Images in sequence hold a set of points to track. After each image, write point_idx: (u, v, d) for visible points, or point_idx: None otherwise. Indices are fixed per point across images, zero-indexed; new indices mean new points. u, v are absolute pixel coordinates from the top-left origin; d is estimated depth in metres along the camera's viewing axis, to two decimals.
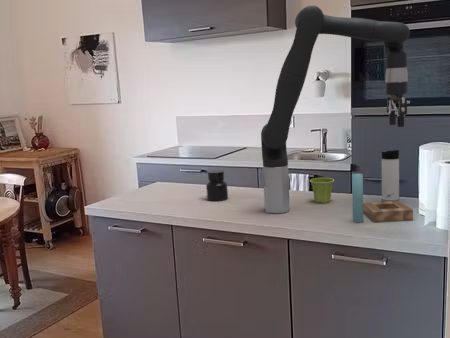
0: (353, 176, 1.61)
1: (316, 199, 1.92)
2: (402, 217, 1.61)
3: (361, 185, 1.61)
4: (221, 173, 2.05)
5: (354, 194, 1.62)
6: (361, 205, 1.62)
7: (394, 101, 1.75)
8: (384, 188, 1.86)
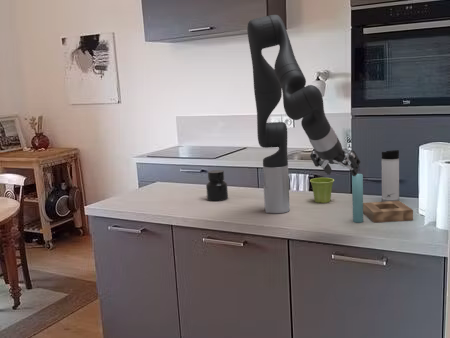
0: (353, 176, 1.61)
1: (316, 199, 1.92)
2: (402, 217, 1.61)
3: (361, 185, 1.61)
4: (221, 173, 2.05)
5: (354, 194, 1.62)
6: (361, 205, 1.62)
7: (337, 159, 1.45)
8: (384, 188, 1.86)
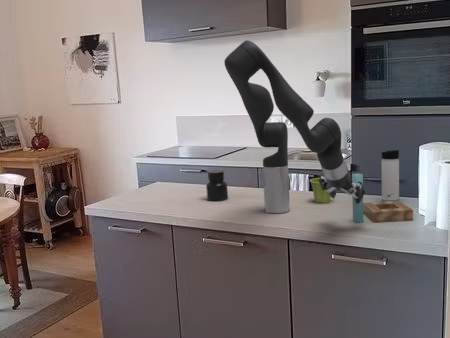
0: (353, 176, 1.61)
1: (316, 199, 1.92)
2: (402, 217, 1.61)
3: None
4: (221, 173, 2.05)
5: None
6: (361, 205, 1.62)
7: (344, 187, 1.54)
8: (384, 188, 1.86)
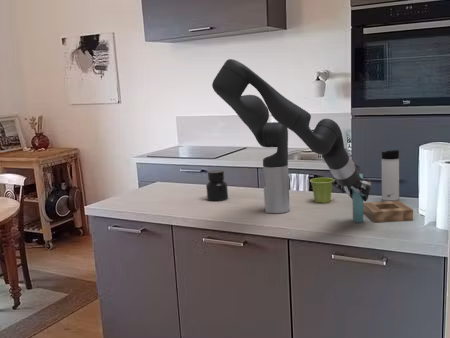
0: None
1: (316, 199, 1.92)
2: (402, 217, 1.61)
3: None
4: (221, 173, 2.05)
5: (354, 194, 1.62)
6: (361, 205, 1.62)
7: (355, 186, 1.56)
8: (384, 188, 1.86)
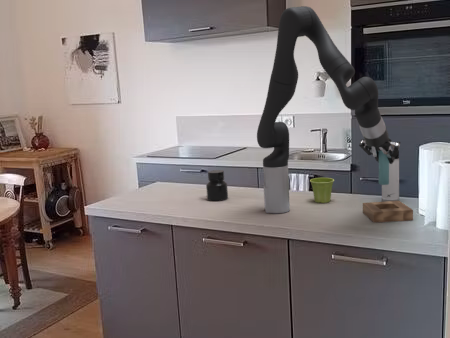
0: None
1: (316, 199, 1.92)
2: (402, 217, 1.61)
3: None
4: (221, 173, 2.05)
5: (381, 156, 1.64)
6: (388, 167, 1.65)
7: (383, 147, 1.59)
8: (384, 188, 1.86)
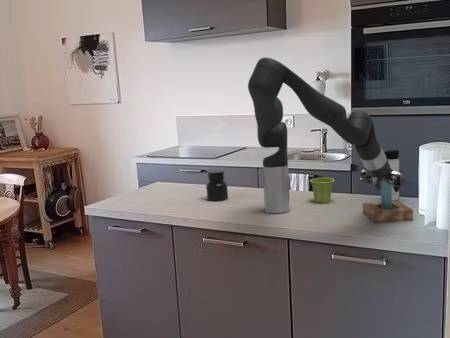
0: None
1: (316, 199, 1.92)
2: (402, 217, 1.61)
3: None
4: (221, 173, 2.05)
5: (383, 189, 1.66)
6: (390, 200, 1.66)
7: (385, 177, 1.60)
8: None
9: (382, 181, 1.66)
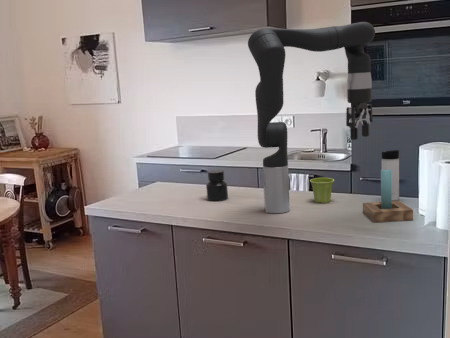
0: (382, 172, 1.65)
1: (316, 199, 1.92)
2: (402, 217, 1.61)
3: (390, 180, 1.65)
4: (221, 173, 2.05)
5: (383, 189, 1.65)
6: (390, 200, 1.66)
7: None
8: None
9: (382, 181, 1.65)
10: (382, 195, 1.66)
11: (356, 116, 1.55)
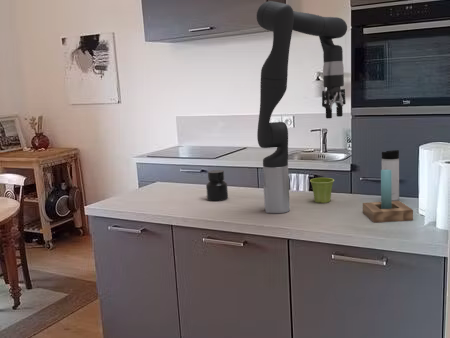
0: (382, 172, 1.65)
1: (316, 199, 1.92)
2: (402, 217, 1.61)
3: (390, 180, 1.65)
4: (221, 173, 2.05)
5: (383, 189, 1.65)
6: (390, 200, 1.66)
7: None
8: None
9: (382, 181, 1.66)
10: (382, 195, 1.66)
11: (330, 98, 1.83)
